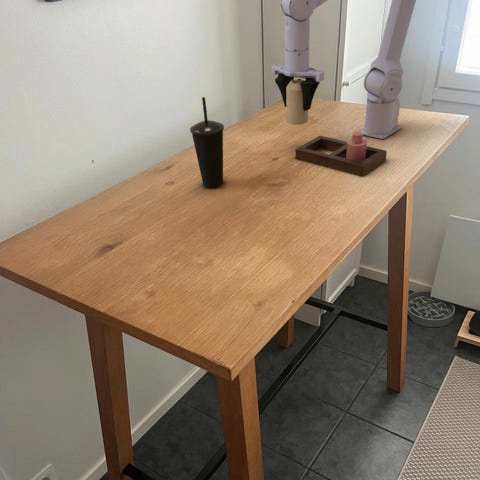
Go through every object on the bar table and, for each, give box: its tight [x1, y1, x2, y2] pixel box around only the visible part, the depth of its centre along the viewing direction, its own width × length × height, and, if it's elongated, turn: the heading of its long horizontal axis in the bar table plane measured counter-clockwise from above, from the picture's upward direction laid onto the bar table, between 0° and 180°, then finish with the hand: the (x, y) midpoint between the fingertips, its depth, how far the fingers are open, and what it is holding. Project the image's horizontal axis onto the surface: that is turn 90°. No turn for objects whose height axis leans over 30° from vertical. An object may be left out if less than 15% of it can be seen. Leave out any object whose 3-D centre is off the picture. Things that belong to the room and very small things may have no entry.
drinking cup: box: [189, 96, 225, 190], centre depth 115 cm, size 8×8×20 cm
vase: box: [346, 131, 368, 162], centre depth 122 cm, size 5×5×8 cm
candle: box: [286, 78, 309, 126], centre depth 128 cm, size 6×6×10 cm
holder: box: [295, 135, 388, 177], centre depth 126 cm, size 11×20×3 cm, turn 48°
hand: (297, 107), depth 129 cm, fingers closed on candle, 5 cm apart
